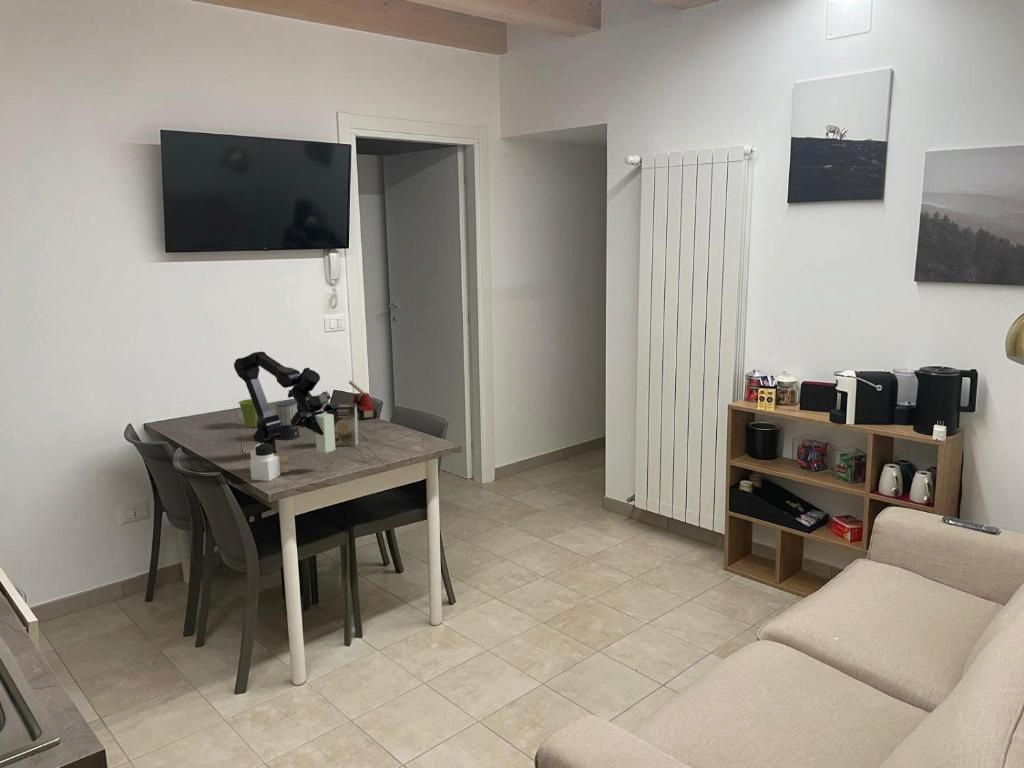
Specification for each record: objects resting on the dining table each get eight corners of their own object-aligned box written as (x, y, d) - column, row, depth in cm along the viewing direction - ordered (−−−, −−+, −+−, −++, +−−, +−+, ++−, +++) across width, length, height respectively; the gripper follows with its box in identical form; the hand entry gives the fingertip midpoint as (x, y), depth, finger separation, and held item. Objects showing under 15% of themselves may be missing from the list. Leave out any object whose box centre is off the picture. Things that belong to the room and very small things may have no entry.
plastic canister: (251, 468, 278) (250, 449, 276) (266, 466, 279) (264, 448, 278) (252, 472, 273) (250, 453, 272) (266, 470, 275) (265, 451, 273)
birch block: (270, 470, 274) (269, 454, 273) (284, 468, 277) (283, 452, 276) (275, 474, 270) (274, 457, 269) (289, 471, 273) (288, 455, 272)
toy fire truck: (369, 411, 363) (367, 375, 359) (377, 419, 349) (375, 381, 345) (345, 414, 358) (343, 377, 355) (352, 421, 344) (350, 383, 341)
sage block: (316, 450, 274) (314, 415, 271) (326, 447, 277) (324, 413, 275) (325, 452, 271) (323, 417, 269) (335, 449, 275) (333, 414, 272)
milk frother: (292, 440, 313) (290, 405, 311) (258, 439, 317) (255, 404, 314) (309, 432, 327) (307, 398, 324) (275, 430, 330) (273, 396, 327)
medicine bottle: (280, 475, 269) (278, 442, 267) (269, 481, 262) (266, 447, 260) (263, 473, 271) (260, 440, 269) (251, 479, 264) (248, 446, 262)
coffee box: (333, 446, 304) (330, 407, 301) (336, 442, 311) (333, 403, 307) (356, 446, 305) (354, 406, 301) (359, 441, 311) (357, 403, 308)
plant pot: (272, 422, 343) (271, 398, 341) (261, 429, 332) (259, 404, 329) (247, 422, 344) (245, 398, 342) (235, 429, 333) (233, 404, 331)
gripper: (293, 390, 264) (318, 425, 260) (334, 381, 279) (357, 414, 276) (280, 409, 270) (303, 444, 266) (320, 399, 285) (342, 432, 281)
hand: (327, 433), depth 272 cm, fingers closed on sage block, 5 cm apart
